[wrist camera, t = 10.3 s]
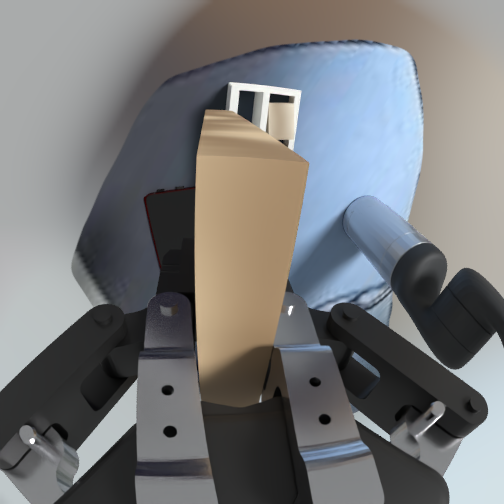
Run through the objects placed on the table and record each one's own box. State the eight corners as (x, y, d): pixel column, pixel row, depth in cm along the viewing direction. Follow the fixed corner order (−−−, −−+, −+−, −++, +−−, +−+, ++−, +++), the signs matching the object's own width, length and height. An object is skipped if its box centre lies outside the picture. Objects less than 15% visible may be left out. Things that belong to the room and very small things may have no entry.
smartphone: (218, 182, 43) (232, 306, 56) (218, 179, 44) (232, 301, 57) (141, 193, 42) (172, 312, 55) (143, 190, 43) (172, 307, 56)
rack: (295, 90, 38) (310, 91, 32) (282, 181, 45) (294, 197, 39) (228, 83, 36) (232, 81, 30) (220, 178, 43) (222, 193, 38)
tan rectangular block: (232, 110, 18) (309, 162, 4) (221, 248, 24) (248, 442, 10) (205, 109, 18) (197, 155, 4) (199, 248, 23) (205, 444, 10)
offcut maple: (288, 102, 36) (294, 103, 33) (288, 136, 39) (293, 139, 36) (264, 102, 36) (268, 103, 33) (264, 136, 38) (268, 139, 36)
